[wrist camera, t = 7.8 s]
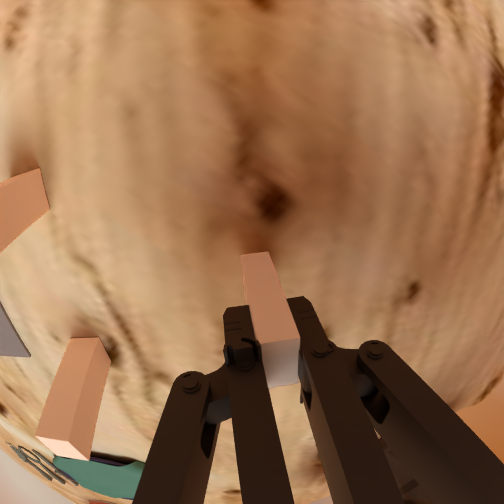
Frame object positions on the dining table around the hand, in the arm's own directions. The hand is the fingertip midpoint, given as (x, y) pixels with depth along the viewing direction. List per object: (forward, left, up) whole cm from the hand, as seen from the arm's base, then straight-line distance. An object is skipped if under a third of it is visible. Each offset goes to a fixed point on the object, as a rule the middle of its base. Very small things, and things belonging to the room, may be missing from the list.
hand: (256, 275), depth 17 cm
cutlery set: (+29, +36, -3) cm, 46 cm away
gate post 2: (+13, +6, -2) cm, 15 cm away
